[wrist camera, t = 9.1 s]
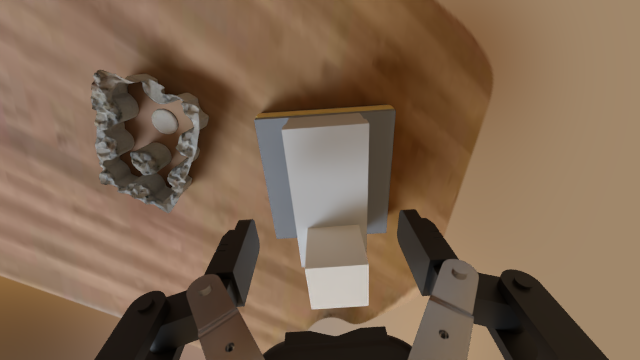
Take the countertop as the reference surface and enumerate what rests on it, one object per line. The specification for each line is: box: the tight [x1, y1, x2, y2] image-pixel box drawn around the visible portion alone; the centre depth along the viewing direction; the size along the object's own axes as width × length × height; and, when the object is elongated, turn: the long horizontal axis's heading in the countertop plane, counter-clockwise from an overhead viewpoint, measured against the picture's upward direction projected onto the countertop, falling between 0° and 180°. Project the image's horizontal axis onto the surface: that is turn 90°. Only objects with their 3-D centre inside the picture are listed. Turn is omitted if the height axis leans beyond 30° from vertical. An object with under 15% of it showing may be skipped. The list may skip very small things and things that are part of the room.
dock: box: [254, 105, 396, 239], centre depth 23 cm, size 12×11×2 cm
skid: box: [282, 113, 369, 267], centre depth 20 cm, size 12×6×4 cm, turn 4°
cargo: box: [305, 224, 369, 309], centre depth 18 cm, size 4×4×4 cm
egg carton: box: [91, 70, 209, 213], centre depth 21 cm, size 11×8×4 cm
